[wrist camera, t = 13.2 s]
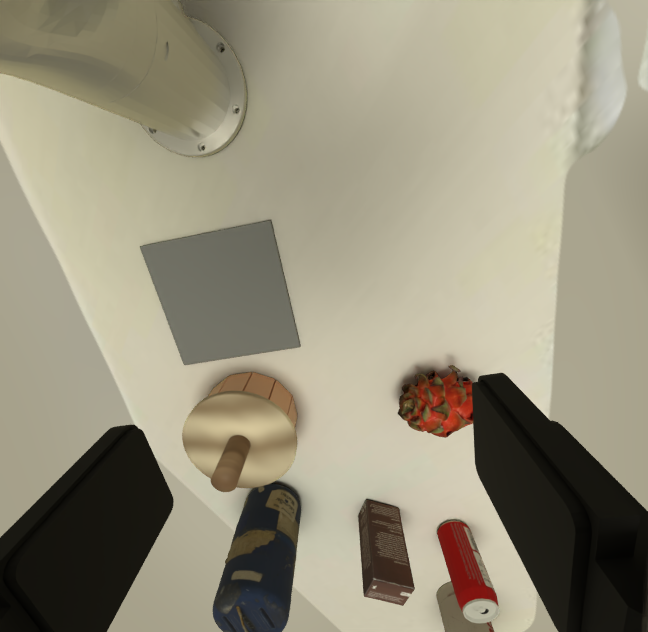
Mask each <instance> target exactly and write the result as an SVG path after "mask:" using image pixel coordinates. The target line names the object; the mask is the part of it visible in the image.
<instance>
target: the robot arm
mask: <svg viewBox="0 0 648 632" xmlns="http://www.w3.org/2000/svg"><path fill="white" fill-rule="evenodd" d="M222 49H225V50H224V52H223V53H221V51H222ZM0 73H2V74H6V75H10V76H14V77H17V78H20V79H23V80H27V81H30V82H33V83H36V84H39V85H41V86H44V87H47V88H50V89H52V90H55V91H58V92H60V93H63V94H65V95H68V96H71V97H73V98H76V99H79V100H81V101H84V102H86V103H89V104H91V105H94V106H96V107H99V108H102V109H104V110H107V111H109V112H112V113H114V114H117V115H120V116H122V117H125V118H127V119H130V120H132V121H135V122H138V123H140V124H141V125H142V127H143V128H144V129H145V131H146V132H147V133H148V134H149V135H150V137H151V138H153V139H154V140H155V141H156V142H157V143H158V144H160V145H161V146H163V147H164V148H166V149H168V150H169V151H172V152H174V153H177V154H180V155H184V156H188V157H204V156H210V155H212V154H214V153H217V152H219V151H220V150H222V149H223V148H225V147H226V146H227V145H228V144H229V143H230V142H231V141H232V140H233V139H234V138H235V136H236V135H237V133H238V131H239V130H240V128H241V125H242V122H243V120H244V117H245V111H246V105H247V90H246V84H245V78H244V75H243V72H242V68H241V65H240V63H239V61H238V59H237V57H236V55H235V54H234V52H233V51H232V49H231V48H230V46H229V45H228V43H227V42H226V41H225V40H224V39H223V38H222V36H221V35H220V34H219V33H218V32H216V31H215V30H214V29H213V28H211V27H210V26H209V25H207V24H205V23H203V22H201V21H199V20H197V19H194V18H190V17H187V16H186V15H185V14H184V11H183V7H182V5H181V3H180V2H179V1H178V0H0ZM237 109H239V110H240V111H239V113H238V114H236V110H237ZM155 129H156V130H157V131H156V132H155ZM204 146H205V151H203V147H204ZM472 405H473V426H474V448H475V465H476V469H477V473H478V475H479V478H480V480H481V482H482V484H483V486H484V488H485V490H486V492H487V494H488V495H489V497H490V499H491V501H492V503H493V505H494V507H495V509H496V511H497V513H498V515H499V517H500V519H501V521H502V523H503V525H504V527H505V529H506V531H507V533H508V535H509V537H510V539H511V541H512V543H513V545H514V547H515V548H516V550H517V552H518V554H519V556H520V558H521V560H522V562H523V564H524V566H525V568H526V570H527V572H528V574H529V576H530V578H531V580H532V582H533V584H534V586H535V588H536V590H537V592H538V594H539V596H540V597H541V599H542V601H543V603H544V605H545V607H546V609H547V611H548V613H549V615H550V617H551V619H552V621H553V623H554V625H555V627H556V628H557V630H558V631H559V632H648V511H646V509H645V508H644V507H643V506H642V505H641V504H640V503H638V501H637V500H636V499H635V498H633V496H632V495H631V494H630V493H629V492H628V491H627V490H626V489H625V488H624V487H623V486H622V485H621V484H620V483H619V482H618V481H617V480H616V479H615V478H614V477H613V476H612V475H611V474H610V473H609V472H608V471H607V470H606V469H605V468H604V467H603V466H602V465H601V464H600V463H599V462H598V461H597V460H596V459H595V458H594V457H593V456H592V455H591V454H590V453H589V452H588V451H587V450H586V449H585V448H584V447H583V446H582V445H581V444H580V443H579V442H578V441H577V440H576V439H575V438H574V437H573V436H572V435H571V434H570V433H569V432H568V431H567V430H566V429H565V428H564V427H563V426H562V425H560V424H559V423H558V422H555V421H550V420H549V419H548V418H547V417H546V416H545V415H544V414H543V413H542V412H541V411H540V410H539V409H538V408H537V407H536V406H535V405H534V404H533V403H532V402H531V400H530V399H529V398H528V397H527V396H526V395H525V394H524V393H523V392H522V391H521V390H520V389H519V388H518V387H517V386H516V385H515V384H514V383H513V382H512V381H511V380H510V379H509V378H508V377H507V376H506V375H505V374H504V373H497V374H490V375H483V376H480V377H479V378H478V382H474V383H472ZM172 508H173V497H172V494H171V492H170V490H169V487H168V485H167V483H166V481H165V479H164V476H163V474H162V472H161V470H160V468H159V466H158V463H157V461H156V459H155V457H154V454H153V452H152V450H151V448H150V446H149V443H148V441H147V439H146V437H145V435H144V433H143V431H142V430H141V429H138V427H137V426H135V425H125V426H117V427H113V428H110V429H109V430H108V431H107V432H106V433H105V434H104V435H103V436H102V437H101V438H100V439H99V440H98V441H97V442H96V443H95V444H94V445H93V446H92V447H91V448H90V449H89V450H88V451H87V452H86V453H85V454H84V455H83V456H82V457H81V458H80V459H79V460H78V461H77V462H76V463H75V464H74V465H73V466H72V467H71V468H70V469H69V470H68V471H67V472H66V473H65V474H64V475H63V476H62V477H61V478H60V479H59V480H58V481H57V482H56V483H55V484H54V485H53V486H52V487H51V488H50V489H49V490H48V491H47V492H46V493H45V494H44V495H43V496H42V497H41V498H40V499H39V500H38V501H37V502H36V503H35V504H34V505H33V506H32V507H31V508H30V509H29V510H28V511H27V512H26V513H25V514H24V515H23V516H22V517H21V518H20V519H19V520H18V521H17V522H16V523H15V524H14V525H13V526H12V527H11V528H10V529H9V530H8V531H7V532H6V533H4V534H3V535H2V536H1V538H0V632H107V630H108V628H109V626H110V624H111V623H112V621H113V619H114V617H115V615H116V613H117V612H118V610H119V608H120V606H121V604H122V602H123V600H124V599H125V597H126V595H127V593H128V591H129V589H130V587H131V585H132V584H133V582H134V580H135V578H136V576H137V574H138V572H139V570H140V569H141V567H142V565H143V563H144V561H145V559H146V558H147V556H148V554H149V552H150V550H151V548H152V546H153V545H154V543H155V540H156V539H157V537H158V535H159V533H160V531H161V530H162V528H163V526H164V524H165V522H166V520H167V519H168V516H169V515H170V513H171V510H172Z"/></svg>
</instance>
